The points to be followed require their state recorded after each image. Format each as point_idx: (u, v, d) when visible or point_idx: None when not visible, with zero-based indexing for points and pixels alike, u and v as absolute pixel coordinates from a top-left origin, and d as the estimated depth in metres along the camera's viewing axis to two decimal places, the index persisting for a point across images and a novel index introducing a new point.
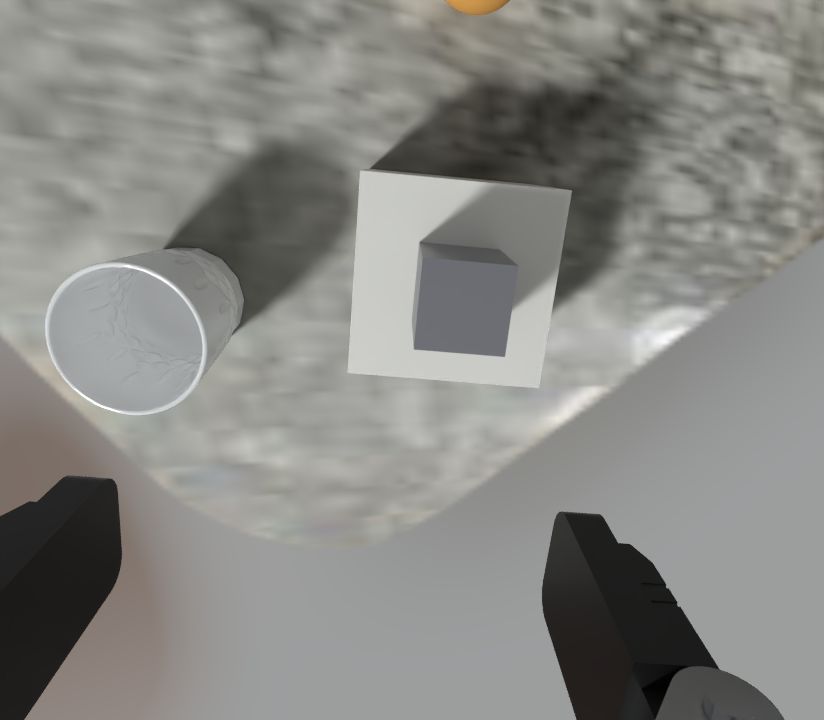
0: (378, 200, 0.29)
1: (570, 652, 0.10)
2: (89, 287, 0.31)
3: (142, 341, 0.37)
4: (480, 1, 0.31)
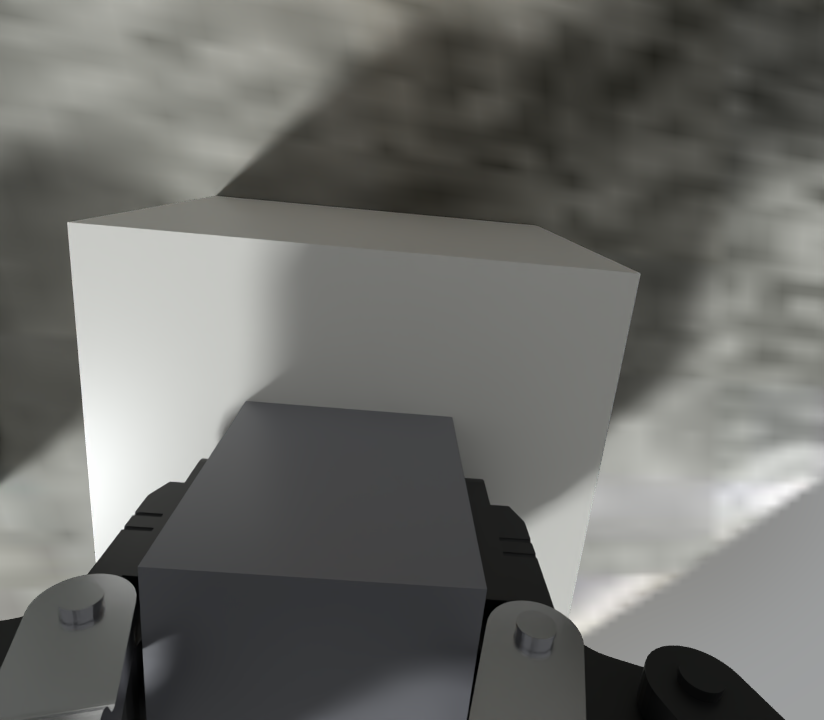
0: (127, 299, 0.11)
1: None
2: None
3: None
4: None
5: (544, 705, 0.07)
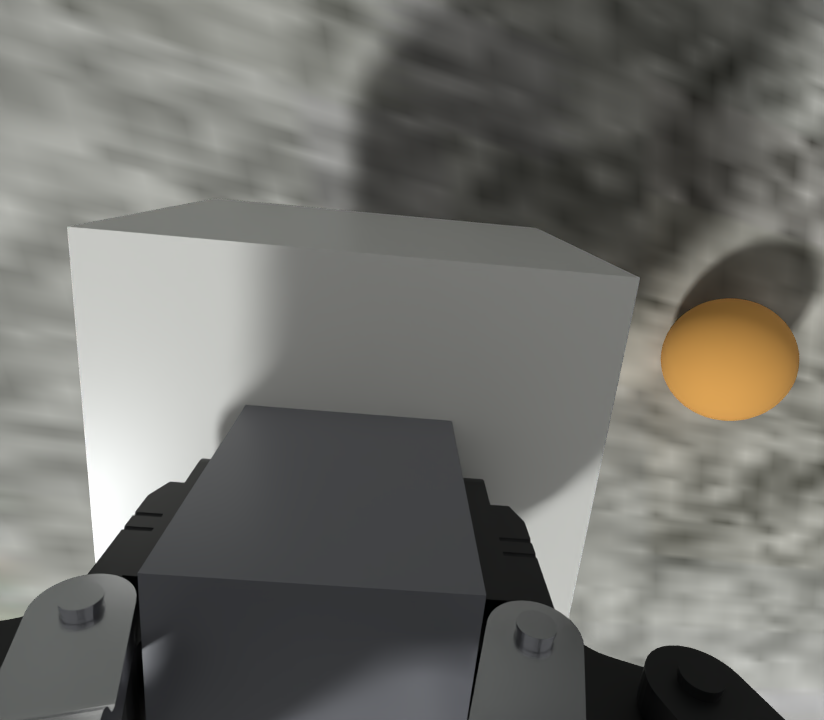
0: (127, 303, 0.11)
1: None
2: None
3: None
4: (732, 420, 0.24)
5: (543, 705, 0.07)
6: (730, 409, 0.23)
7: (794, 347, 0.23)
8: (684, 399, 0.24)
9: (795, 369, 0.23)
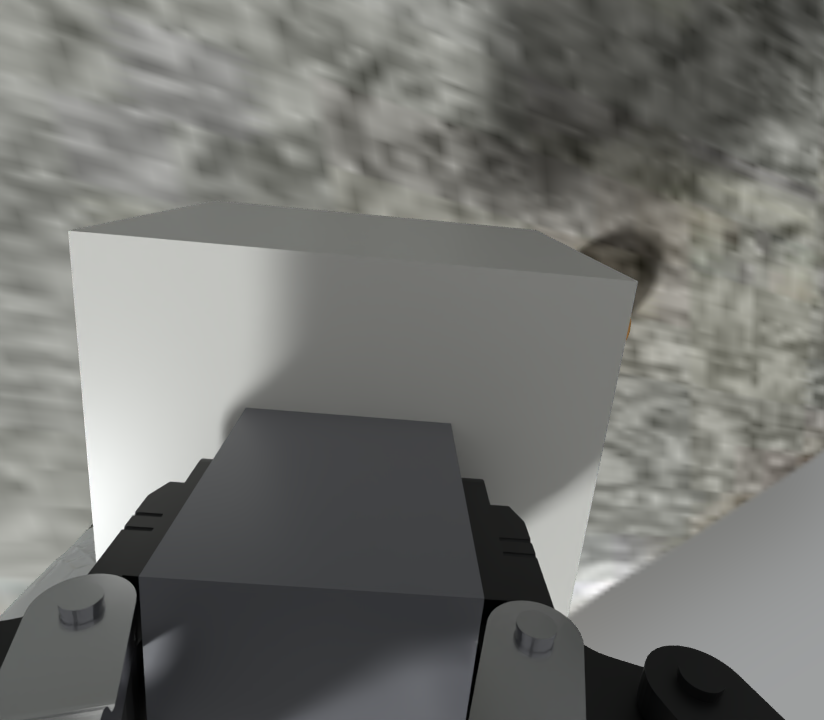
0: (128, 307, 0.11)
1: None
2: None
3: None
4: None
5: (544, 705, 0.07)
6: None
7: None
8: None
9: None
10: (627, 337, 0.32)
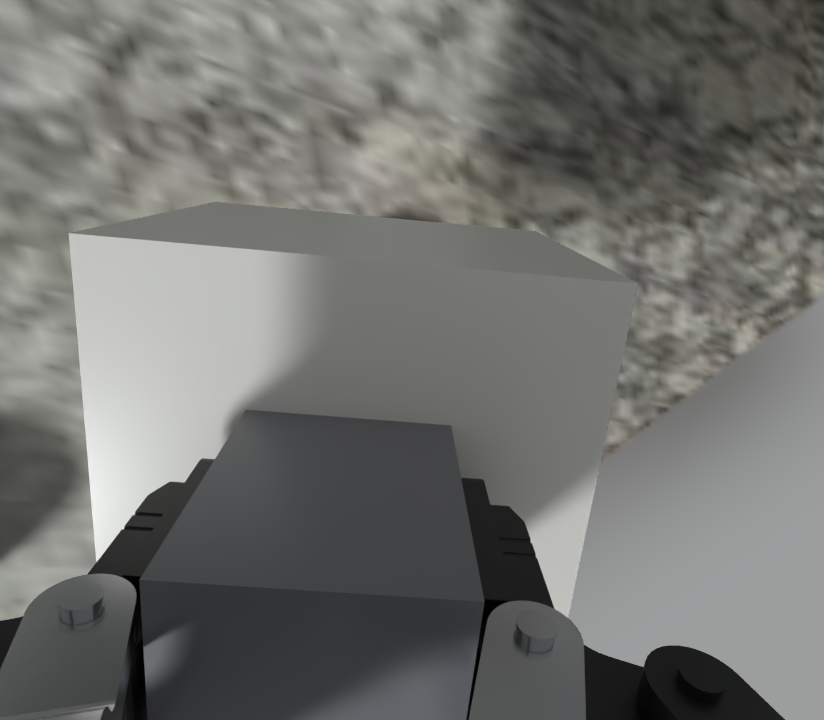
0: (128, 309, 0.11)
1: None
2: None
3: None
4: None
5: (544, 705, 0.07)
6: None
7: None
8: None
9: None
10: None
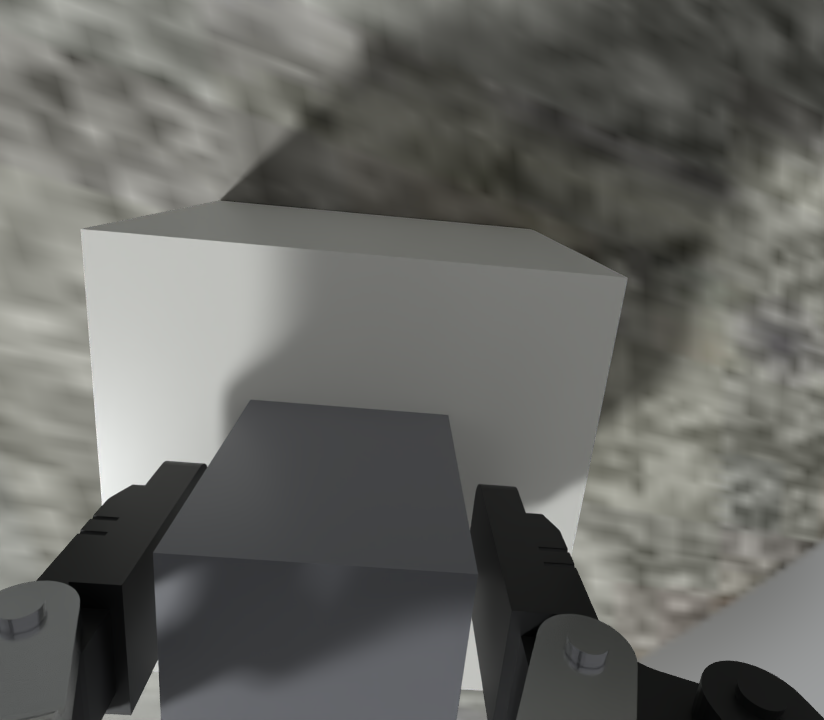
0: (137, 302, 0.11)
1: (479, 612, 0.10)
2: None
3: None
4: None
5: None
6: None
7: None
8: None
9: None
10: None
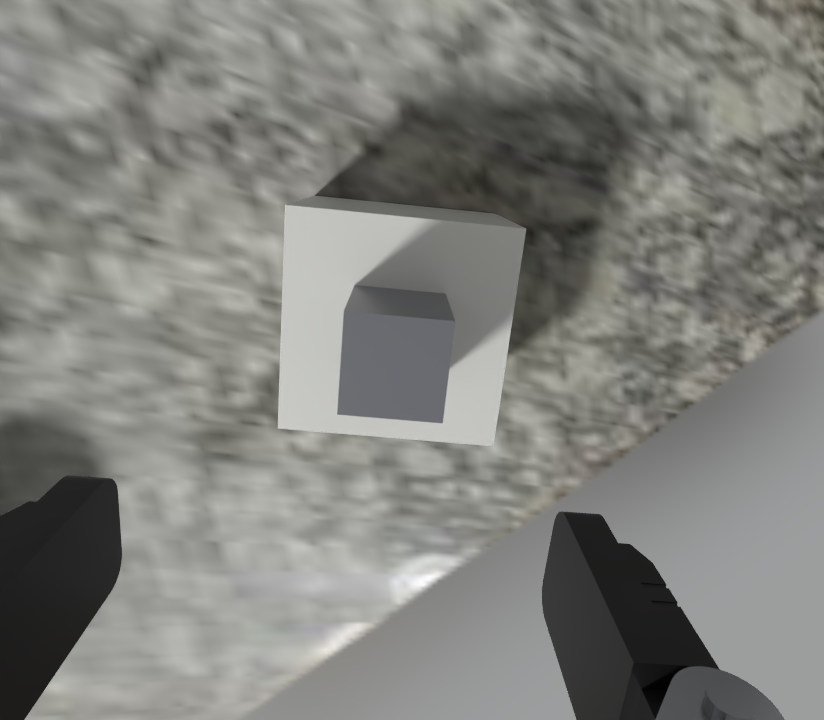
0: (306, 238, 0.26)
1: (570, 652, 0.10)
2: None
3: None
4: None
5: None
6: None
7: None
8: None
9: None
10: None
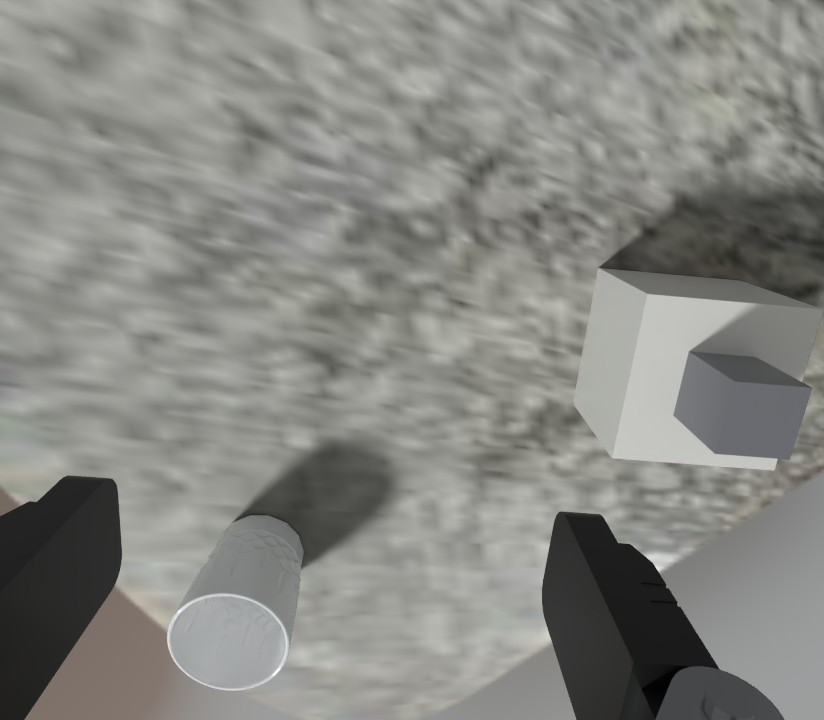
0: (659, 318, 0.34)
1: (570, 652, 0.10)
2: None
3: (225, 596, 0.46)
4: None
5: None
6: None
7: None
8: None
9: None
10: None
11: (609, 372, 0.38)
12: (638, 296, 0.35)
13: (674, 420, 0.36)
